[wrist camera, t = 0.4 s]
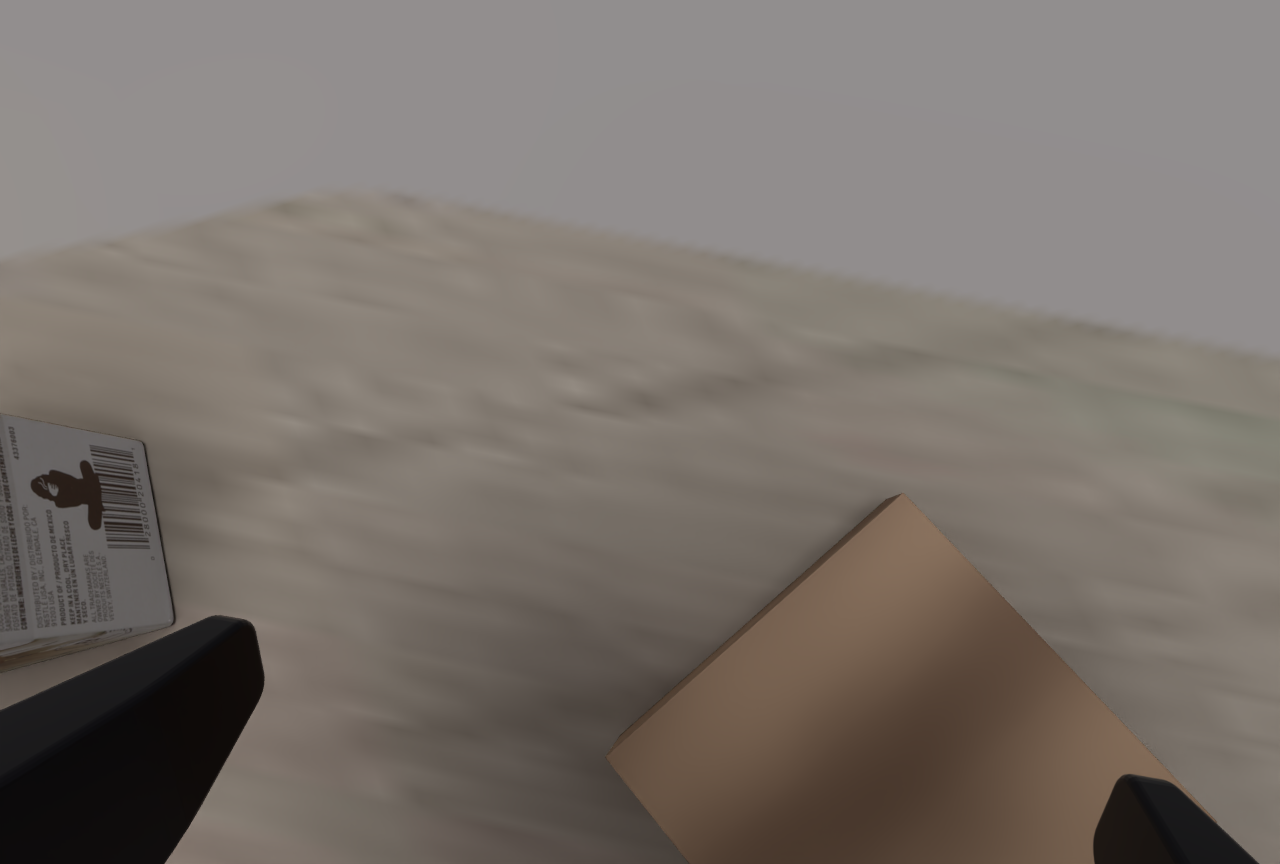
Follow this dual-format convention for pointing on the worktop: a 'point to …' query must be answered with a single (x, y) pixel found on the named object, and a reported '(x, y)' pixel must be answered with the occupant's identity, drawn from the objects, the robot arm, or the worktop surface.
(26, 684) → the worktop surface
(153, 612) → the coffee box
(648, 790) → the walnut block
